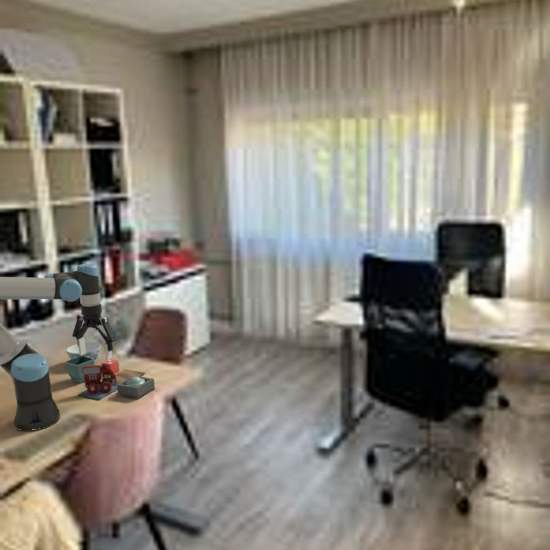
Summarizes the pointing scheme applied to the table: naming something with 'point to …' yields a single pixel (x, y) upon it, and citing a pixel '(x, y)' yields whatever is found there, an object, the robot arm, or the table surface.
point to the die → (112, 365)
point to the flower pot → (78, 367)
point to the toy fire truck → (98, 378)
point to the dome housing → (135, 388)
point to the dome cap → (135, 381)
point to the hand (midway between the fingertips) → (95, 356)
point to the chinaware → (91, 350)
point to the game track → (119, 378)
